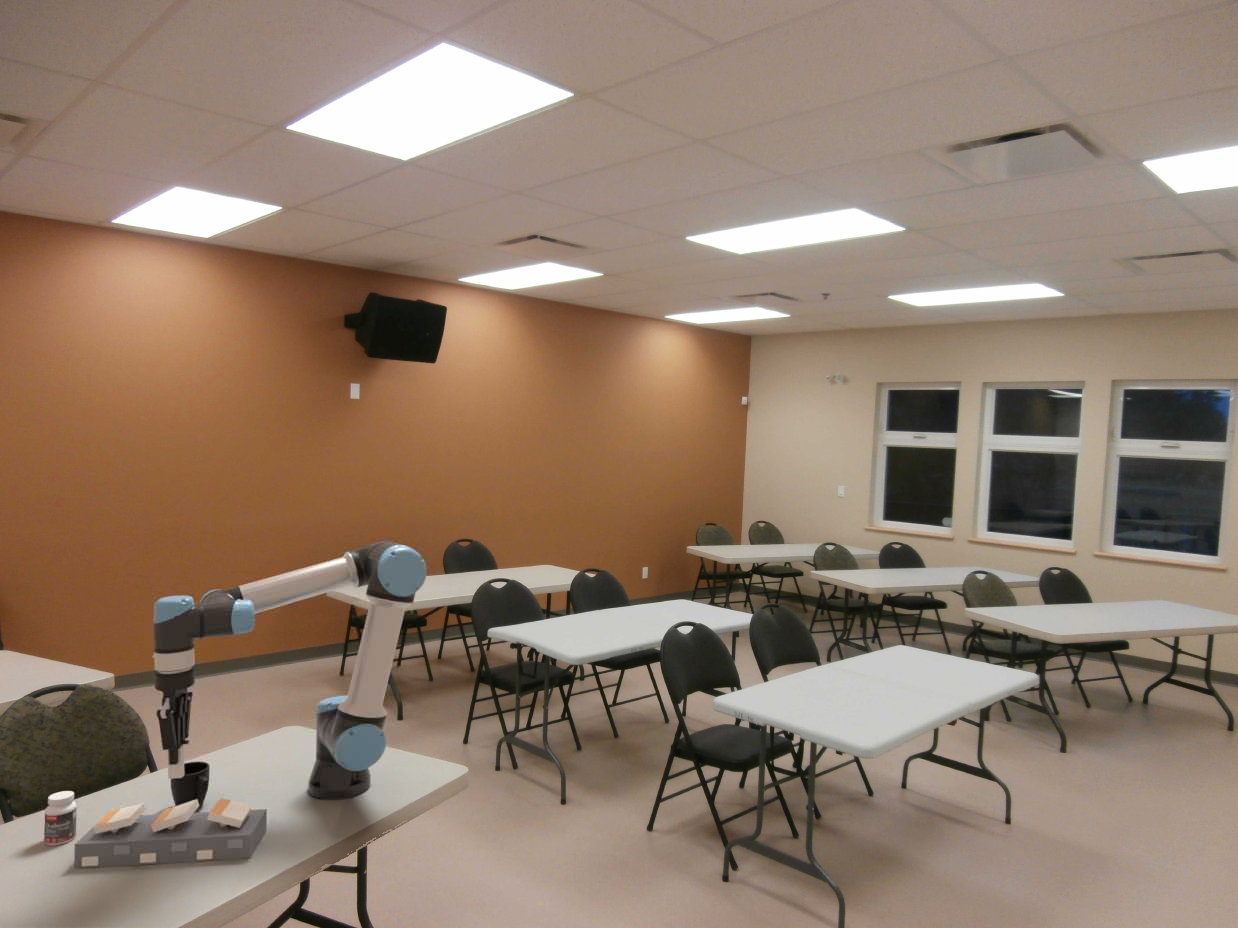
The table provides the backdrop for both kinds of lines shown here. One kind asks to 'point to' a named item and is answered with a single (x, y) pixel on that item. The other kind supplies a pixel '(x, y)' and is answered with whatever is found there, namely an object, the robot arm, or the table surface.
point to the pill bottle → (60, 818)
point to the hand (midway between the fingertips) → (176, 776)
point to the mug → (191, 784)
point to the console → (171, 842)
